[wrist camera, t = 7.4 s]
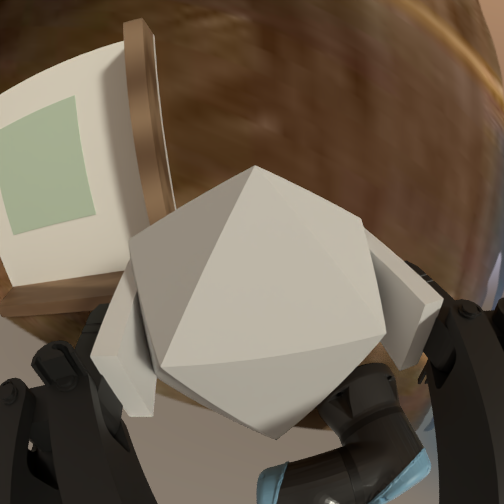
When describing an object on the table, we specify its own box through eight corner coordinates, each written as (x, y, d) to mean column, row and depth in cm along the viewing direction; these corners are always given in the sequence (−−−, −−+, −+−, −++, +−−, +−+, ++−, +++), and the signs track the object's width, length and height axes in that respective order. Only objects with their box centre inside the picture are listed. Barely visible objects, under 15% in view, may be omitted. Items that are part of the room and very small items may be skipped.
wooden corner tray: (188, 270, 30) (186, 299, 25) (20, 293, 27) (2, 317, 23) (154, 36, 19) (142, 18, 14) (-27, 115, 17) (-55, 120, 12)
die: (266, 335, 17) (421, 384, 9) (126, 384, 11) (256, 540, 4) (254, 195, 16) (430, 171, 8) (92, 205, 10) (197, 108, 3)
